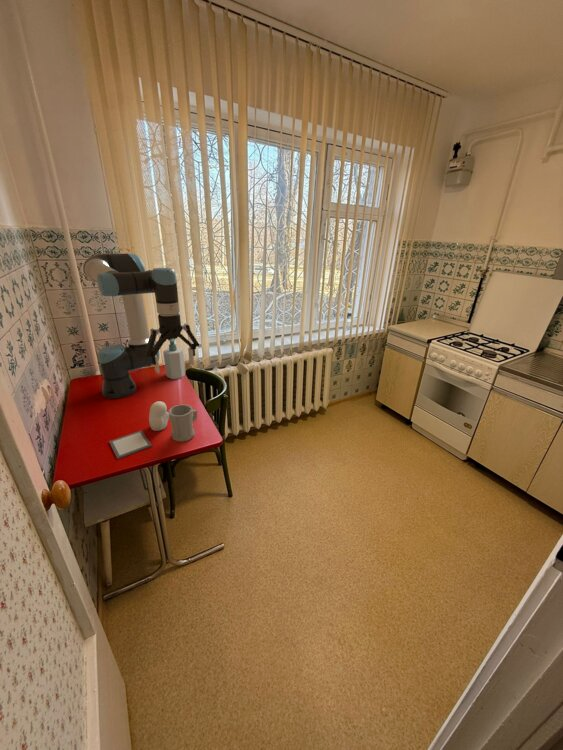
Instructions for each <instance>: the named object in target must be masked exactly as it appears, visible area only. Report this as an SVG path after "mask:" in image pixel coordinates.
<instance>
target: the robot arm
mask: <svg viewBox="0 0 563 750" xmlns="http://www.w3.org/2000/svg"><path fill="white" fill-rule="evenodd" d="M82 271H83V273H84V275H85V276H86V278H88V279H89V280H90V281H92V282H94V283H97V287H98V290H99V292H100V294H101V295H102V296H103V297H117V296H121V298H122V299H121V300H122V303H123V309H124V312H125V318H126V322H127V328H128V329H127V330H128V334H129V340H128V342H127V345H128V346H126V347H125V346H124V344H112V345H108V346H105V347H103V348H101V349H100V350H99V352H98V353H97V357H98V363H99V365H100V369H101V375H102V378H103V383H102V389H101V392H102V396H103V397H105V399H121V398H126V397H129V396H131V395H133V394H134V393H136V391H137V385H136V383H135V381H134V379H133V378H132V376H131V373H130V371H134V370H138V369H143V368H148V367H152V366H154V371H155V372H156V373H157V374H161V371H160V364H159V362H160V349H161V348H162V346H163V345H164V344H165V342H167V341H169V340H171V339H175V340H176V339H178V338H179V339H180V340H181V341H183V342H184V343H185V344H186V345H187V346H189V347H187V352H188V360H189V364H190V365H191V366H194V365H195V361H194V359H195V358H194V357H195V356H196V349H197V347H199V346H200V343H199V341H198V339H196V337H195V336H194V334H193V332H192V331H191V328H190V325H189V324H187V323H184V324H183V325H181V324H182V323H181V322H182V321H181V314H180V304H179V295H178V283H177V282H178V279H177V276H176V271H175V269H173V268H170V267H155V268H153V269H152V270H146V267H145V264H144V261H143V260H142V259H141V257H140V256H139V255H137V254H136V253H99V254H95V255H92V256H90V257H88V258H87V259H86V260H85V261H84V263H83V266H82ZM144 294H154V296H155V298H154V299H155V304H156V313H157V314H158V315H157V319H158V328H156V329H155V328H151V329H150V335H149V328H148V322H147V317H146V311H145V305H144V301H143V300H144V299H143V295H144ZM182 331H185V332H186V334H187V336H188V337H189V339H190V340H188V339H187V338H186V337H185V336H184V335H183V334H182V333H181V332H182ZM159 334H160V336H159V338H158V340H157V336H158V335H159ZM156 340H157V342H156Z"/></svg>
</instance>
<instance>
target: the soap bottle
mask: <svg viewBox="0 0 563 750" xmlns="http://www.w3.org/2000/svg"><path fill="white" fill-rule="evenodd" d="M175 341H176V339H171V340H168V342H169V344H168V347H167V348H166V349H164V350H163V351H162V353H163V359H164V360H163V361H164V367H165V368H164V369H165V374H166V377H167V378H169V379H171V380H177V379H182V378H184V376H185V375H186V367H185V358H184V356H185V355H184V349H183V348H180V347H179V346H178V347H177V344H176V343H175Z"/></svg>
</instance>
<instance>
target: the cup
mask: <svg viewBox="0 0 563 750" xmlns="http://www.w3.org/2000/svg"><path fill="white" fill-rule="evenodd" d="M168 413H169V416H170V417H169V420H170V423H171V431H172V432H171V437H172V440H174V441H176V442H187V441H190V440H191V439H192V438H194V437H195V432H196V431H195V429H194V424H193V423H194V422H195V421H197V418H198V411H197V410H196V409H193V407H192V406H191V405H189V404H183V403H182V404H177V405H174V406H172V407H171V408H169V410H168Z"/></svg>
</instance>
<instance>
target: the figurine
mask: <svg viewBox="0 0 563 750" xmlns="http://www.w3.org/2000/svg"><path fill="white" fill-rule="evenodd" d="M167 410H168V407H167V405H166V403H165V402H164V401H155V402H153V403H152V404H151V406H150V409H149V414H148V422H149V426H150V428H151V430H153V431H155V432H156V431H157V432H159V431H162V430H164V429H166V427H167V425H168V422H169V420H170V416H169V411H167Z"/></svg>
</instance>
